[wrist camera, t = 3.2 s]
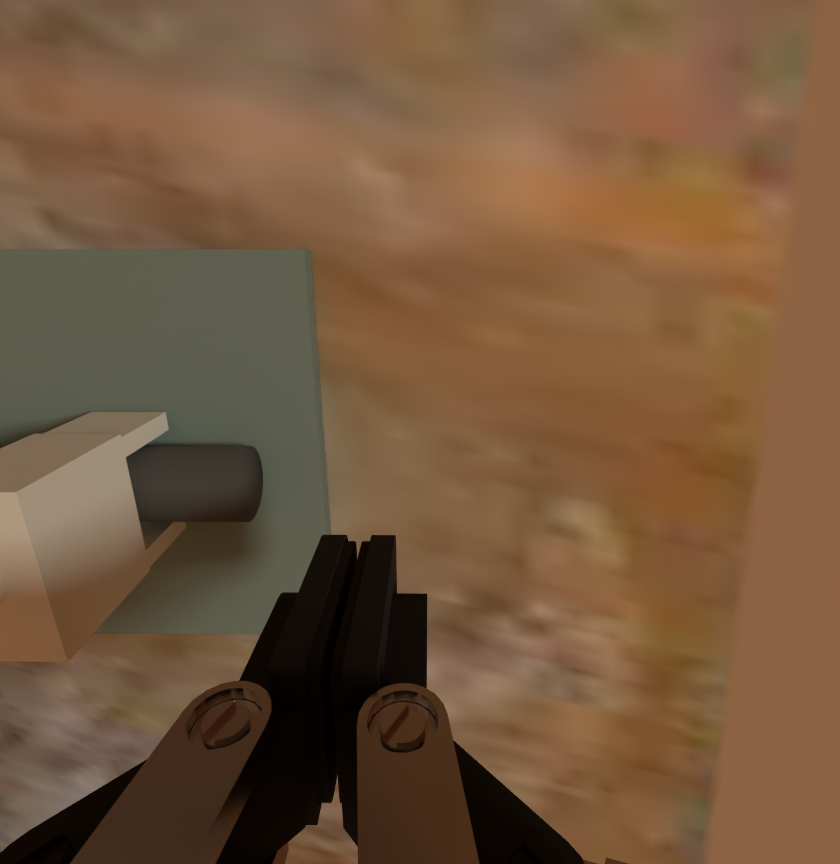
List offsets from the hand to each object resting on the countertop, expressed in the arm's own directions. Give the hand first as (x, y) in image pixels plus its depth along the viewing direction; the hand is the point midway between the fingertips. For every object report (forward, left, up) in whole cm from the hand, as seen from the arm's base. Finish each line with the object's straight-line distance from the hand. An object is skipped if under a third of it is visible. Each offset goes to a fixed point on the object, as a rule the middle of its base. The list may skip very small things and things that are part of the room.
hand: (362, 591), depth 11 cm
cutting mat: (-1, -12, -7) cm, 14 cm away
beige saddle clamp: (0, -8, -5) cm, 10 cm away
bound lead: (0, -9, -6) cm, 11 cm away
